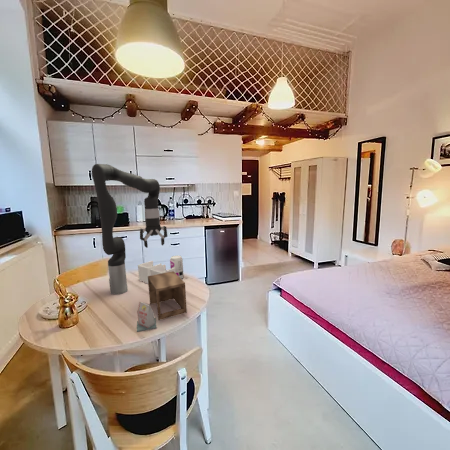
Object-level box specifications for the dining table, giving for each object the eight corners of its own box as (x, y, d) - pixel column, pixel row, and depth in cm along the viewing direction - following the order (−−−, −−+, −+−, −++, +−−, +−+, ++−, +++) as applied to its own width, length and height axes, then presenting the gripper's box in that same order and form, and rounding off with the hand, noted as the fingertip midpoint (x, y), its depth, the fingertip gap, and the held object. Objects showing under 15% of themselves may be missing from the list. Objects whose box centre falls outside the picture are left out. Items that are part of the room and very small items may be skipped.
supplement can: (173, 281, 168) (171, 259, 165) (169, 277, 175) (168, 256, 172) (185, 279, 171) (183, 257, 169) (181, 275, 179) (180, 254, 176)
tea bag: (144, 320, 120) (143, 300, 119) (154, 324, 117) (153, 303, 115) (138, 323, 117) (136, 303, 116) (148, 328, 114) (146, 307, 112)
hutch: (158, 320, 121) (156, 289, 118) (150, 303, 138) (147, 276, 135) (186, 312, 127) (185, 282, 125) (175, 297, 144) (173, 271, 142)
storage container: (139, 280, 171) (137, 265, 170) (153, 275, 180) (151, 260, 178) (162, 289, 156) (160, 272, 154) (176, 284, 164) (175, 267, 162)
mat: (136, 332, 112) (136, 330, 112) (137, 322, 120) (137, 321, 120) (156, 328, 114) (156, 327, 114) (155, 318, 122) (155, 317, 122)
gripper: (163, 214, 143) (165, 243, 146) (137, 217, 137) (139, 246, 139) (167, 216, 137) (169, 245, 139) (139, 218, 130) (142, 249, 133)
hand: (154, 246), depth 139 cm, fingers open, 8 cm apart
